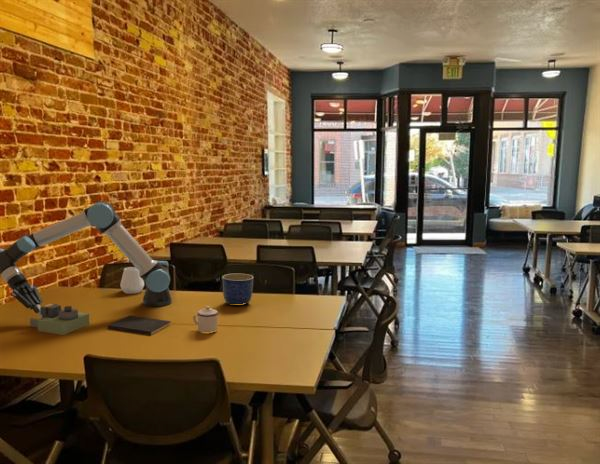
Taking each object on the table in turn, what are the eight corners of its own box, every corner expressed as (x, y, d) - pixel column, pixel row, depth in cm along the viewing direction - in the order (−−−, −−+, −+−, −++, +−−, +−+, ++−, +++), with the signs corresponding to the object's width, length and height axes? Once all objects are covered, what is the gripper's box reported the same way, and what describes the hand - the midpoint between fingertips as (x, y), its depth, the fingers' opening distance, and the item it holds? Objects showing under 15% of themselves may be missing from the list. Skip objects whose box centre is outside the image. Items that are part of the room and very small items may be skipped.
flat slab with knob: (89, 324, 228) (88, 303, 227) (63, 335, 213) (62, 312, 212) (51, 318, 235) (50, 298, 233) (23, 328, 220) (22, 307, 218)
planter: (236, 298, 281) (237, 272, 279) (259, 303, 272) (259, 276, 270) (215, 304, 268) (215, 276, 266) (238, 310, 258) (238, 282, 256)
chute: (62, 323, 227) (62, 304, 226) (51, 328, 221) (51, 308, 220) (52, 322, 229) (51, 302, 228) (41, 326, 223) (40, 306, 221)
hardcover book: (129, 319, 238) (129, 315, 238) (171, 326, 232) (171, 321, 231) (107, 329, 223) (107, 325, 223) (150, 336, 216) (150, 331, 216)
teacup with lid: (221, 329, 227) (221, 305, 226) (211, 335, 219) (211, 310, 217) (198, 325, 231) (198, 301, 230) (188, 331, 223) (188, 307, 221)
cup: (115, 293, 282) (115, 270, 280) (127, 288, 295) (127, 265, 293) (137, 295, 280) (137, 271, 278) (148, 289, 293) (148, 267, 291)
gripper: (22, 280, 236) (51, 318, 233) (-2, 286, 223) (28, 326, 221) (30, 270, 233) (59, 308, 231) (6, 275, 221) (37, 316, 218)
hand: (44, 317), depth 226 cm, fingers closed
